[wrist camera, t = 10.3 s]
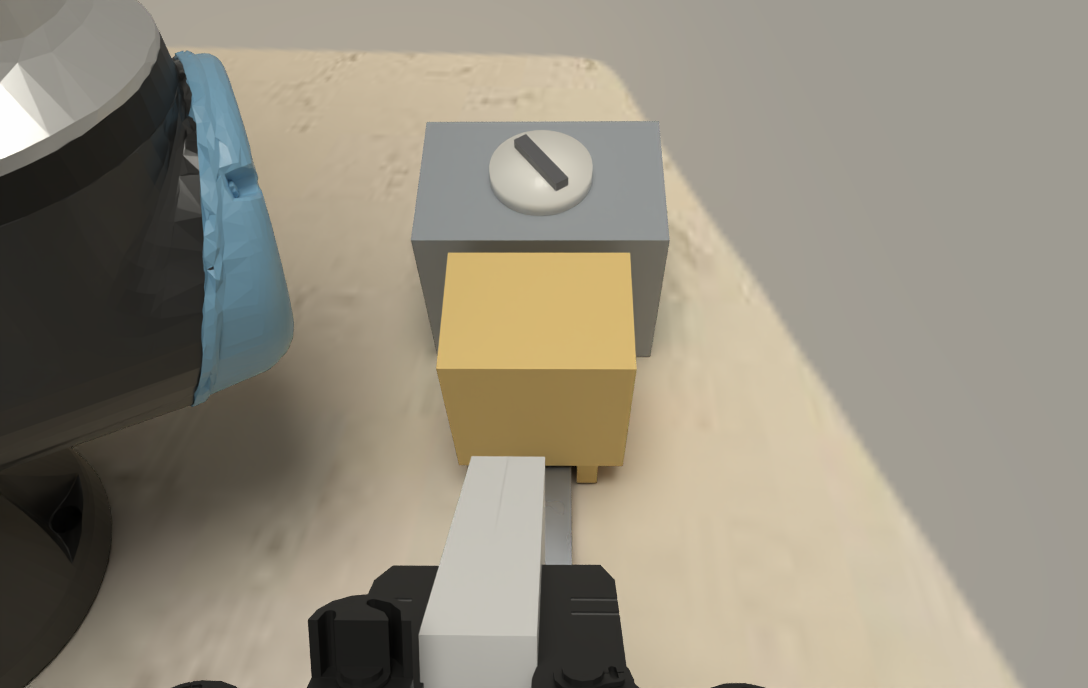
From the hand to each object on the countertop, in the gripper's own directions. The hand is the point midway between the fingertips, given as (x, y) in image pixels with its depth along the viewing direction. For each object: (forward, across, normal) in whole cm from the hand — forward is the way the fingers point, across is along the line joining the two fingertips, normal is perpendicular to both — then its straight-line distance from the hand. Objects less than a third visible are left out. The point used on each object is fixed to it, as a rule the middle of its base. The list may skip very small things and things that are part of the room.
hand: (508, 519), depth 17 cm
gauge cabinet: (+33, 0, -1) cm, 33 cm away
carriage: (+26, 0, -7) cm, 27 cm away
